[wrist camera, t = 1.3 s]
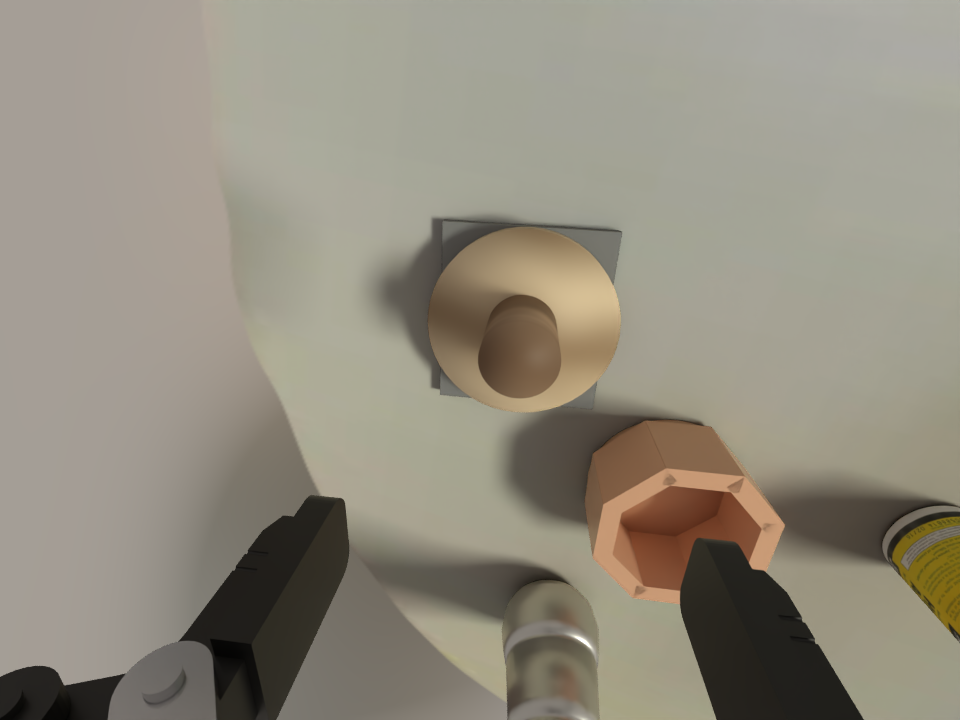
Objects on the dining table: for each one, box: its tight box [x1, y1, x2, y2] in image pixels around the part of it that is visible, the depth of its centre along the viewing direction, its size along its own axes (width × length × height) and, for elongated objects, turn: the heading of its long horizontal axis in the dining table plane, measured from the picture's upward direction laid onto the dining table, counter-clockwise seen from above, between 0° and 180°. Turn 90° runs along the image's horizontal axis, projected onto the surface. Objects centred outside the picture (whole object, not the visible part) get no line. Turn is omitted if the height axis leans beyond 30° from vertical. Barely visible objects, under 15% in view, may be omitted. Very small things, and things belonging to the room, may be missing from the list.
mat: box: [440, 220, 622, 409], centre depth 25 cm, size 10×9×1 cm
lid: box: [428, 227, 621, 412], centre depth 22 cm, size 10×10×6 cm
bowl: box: [584, 420, 785, 604], centre depth 26 cm, size 9×9×5 cm
